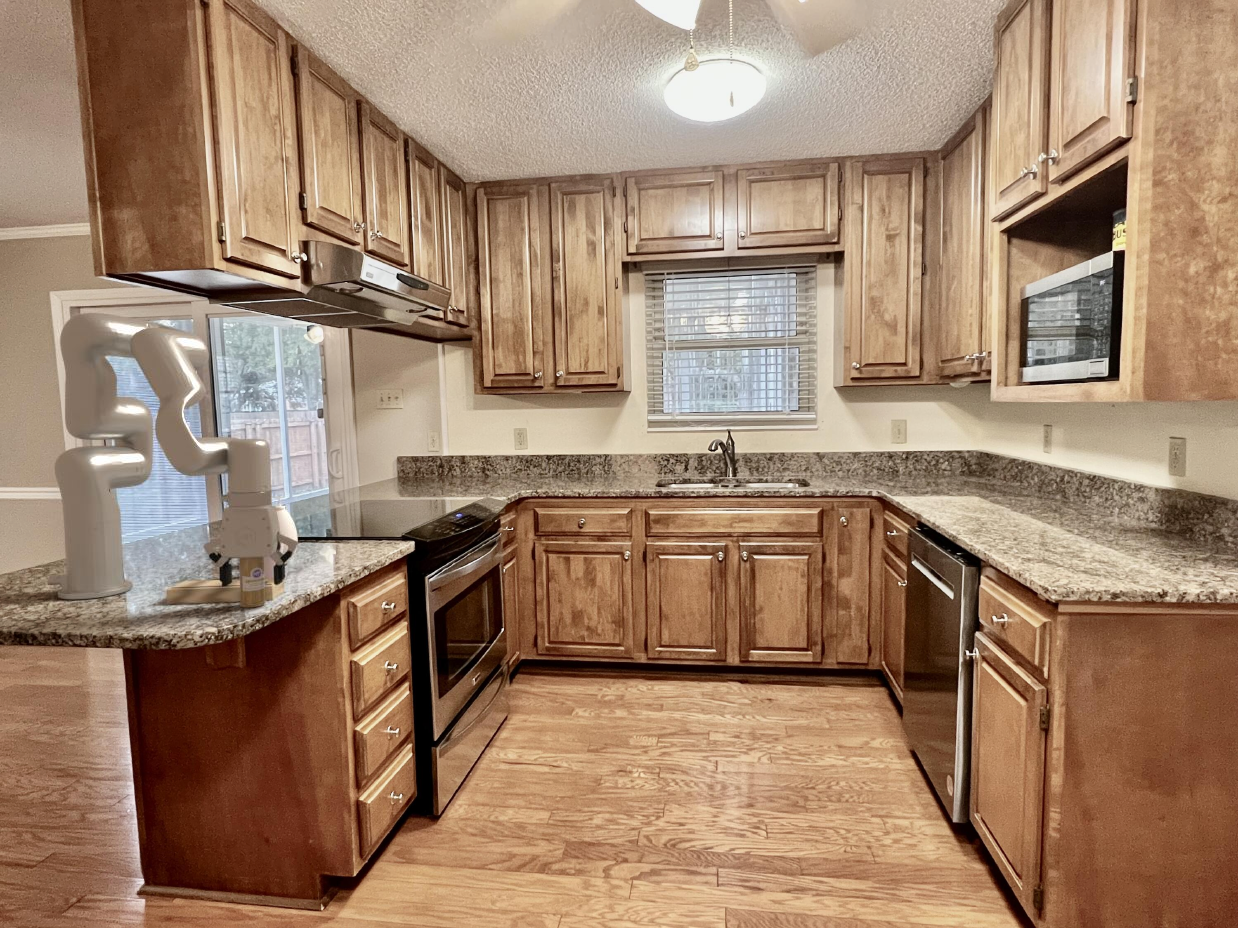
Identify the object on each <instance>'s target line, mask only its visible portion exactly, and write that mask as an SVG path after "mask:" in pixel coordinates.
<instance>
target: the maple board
mask: <svg viewBox="0 0 1238 928" xmlns="http://www.w3.org/2000/svg"><path fill="white" fill-rule="evenodd" d="M264 589H265V601H274V600H275V599H276V598H278V597H279V596H280V595H282V594H283V593H284V592H285V579H284V580H283V582H281V583H280V584H279V585H275V584H274V578H265V588H264ZM234 602H241V591H240V578H239V579H237V578H236V579H232V583H231V584H229V585H227V586H226V587H222V582H220V579H213V580H212V579H211V580H208V579H207V580H206V579H205V580H183V581H181V582H179V583H177V584H175V585H174V586H171V587H168V588H167V589H166V605H176V604H177V605H180V604H182V605H183V604H202V603H203V604H204V603H210V604H211V603H234Z"/></svg>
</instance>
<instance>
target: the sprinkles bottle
mask: <svg viewBox="0 0 1238 928" xmlns="http://www.w3.org/2000/svg"><path fill="white" fill-rule="evenodd" d="M238 568H239V572H238V573H239V579H240V591H241V601H240V603H239V604H240V605H239V606H240V607H242V608H249V609H250V608H256V607H261V606H263V605H265V604H266V600H265V589H264V588H265V579H266V578H265V575H264V557H261V558H239V566H238Z"/></svg>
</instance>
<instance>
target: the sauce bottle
mask: <svg viewBox="0 0 1238 928" xmlns="http://www.w3.org/2000/svg"><path fill="white" fill-rule="evenodd" d="M281 501H282V500H281V496H278V505H276V506H275V505H274V506H275V508H276V511H277V516H278V520H279V526H280V534H282V535H285V536H286V537H288V538H291V539H293V540H295V541H297V542H298V543H299V541H298V539H299V538H298V533H297V532H298V531H297V528H296V524H295V522H294V520H293V517H292V516H291V514H290V513H289V511H288V510H287V509H286V505H282V502H281ZM297 548H298V547H297ZM297 548H296V550H295V551H294V554H293V555H292V556H291V557H290V558H289V559H288V560H287V561H286V562H285V565H286V564H288V563H290V561H291V560H293V558H294V557H295V555H296V552H297ZM287 549H288V546H287V545H285V544H284V548H283V555H284V554H285V553H286V551H287Z"/></svg>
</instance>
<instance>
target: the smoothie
mask: <svg viewBox="0 0 1238 928" xmlns="http://www.w3.org/2000/svg"><path fill="white" fill-rule="evenodd" d="M284 536H285V535H284ZM283 548H284V544H283V543H281V549H280V552H281V553H282V554H283ZM275 565H276V563H275V562H274V561H273V560H272V559H271V558H270V557H264V575H265V579H268V578H274V566H275Z"/></svg>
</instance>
